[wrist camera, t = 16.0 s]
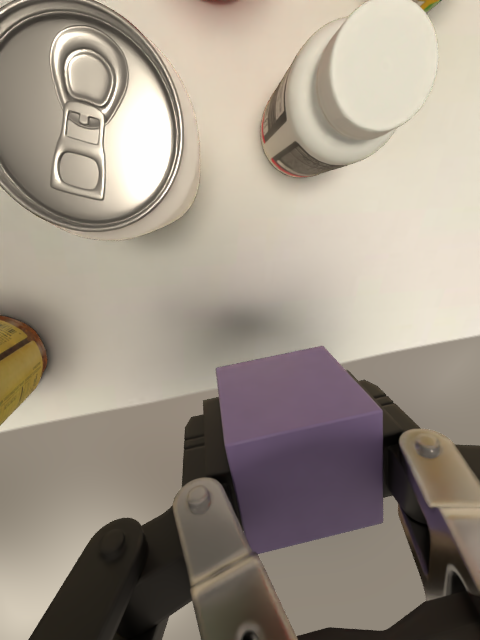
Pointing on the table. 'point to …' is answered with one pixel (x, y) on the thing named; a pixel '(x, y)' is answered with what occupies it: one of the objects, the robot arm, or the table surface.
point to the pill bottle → (351, 88)
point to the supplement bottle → (426, 4)
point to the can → (92, 121)
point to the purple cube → (301, 448)
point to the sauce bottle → (18, 364)
